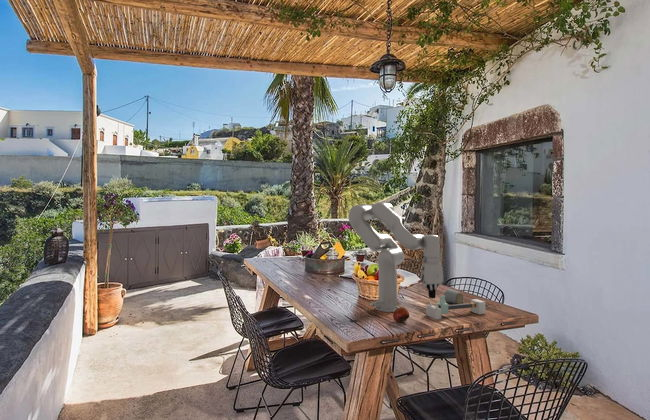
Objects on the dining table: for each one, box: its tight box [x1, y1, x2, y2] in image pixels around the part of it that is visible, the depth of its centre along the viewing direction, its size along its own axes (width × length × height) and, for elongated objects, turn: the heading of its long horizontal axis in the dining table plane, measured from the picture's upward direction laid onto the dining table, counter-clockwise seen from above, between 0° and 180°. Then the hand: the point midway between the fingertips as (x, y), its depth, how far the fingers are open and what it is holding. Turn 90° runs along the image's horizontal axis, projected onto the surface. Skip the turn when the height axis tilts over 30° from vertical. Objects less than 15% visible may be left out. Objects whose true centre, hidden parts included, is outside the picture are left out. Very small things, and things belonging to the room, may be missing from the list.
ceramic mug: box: [443, 288, 465, 305], centre depth 218 cm, size 11×8×8 cm
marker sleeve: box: [435, 295, 449, 315], centre depth 192 cm, size 4×4×8 cm
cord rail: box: [425, 298, 486, 320], centre depth 195 cm, size 30×8×6 cm, turn 110°
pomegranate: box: [392, 306, 410, 325], centre depth 181 cm, size 7×7×10 cm
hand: (432, 297), depth 189 cm, fingers closed
